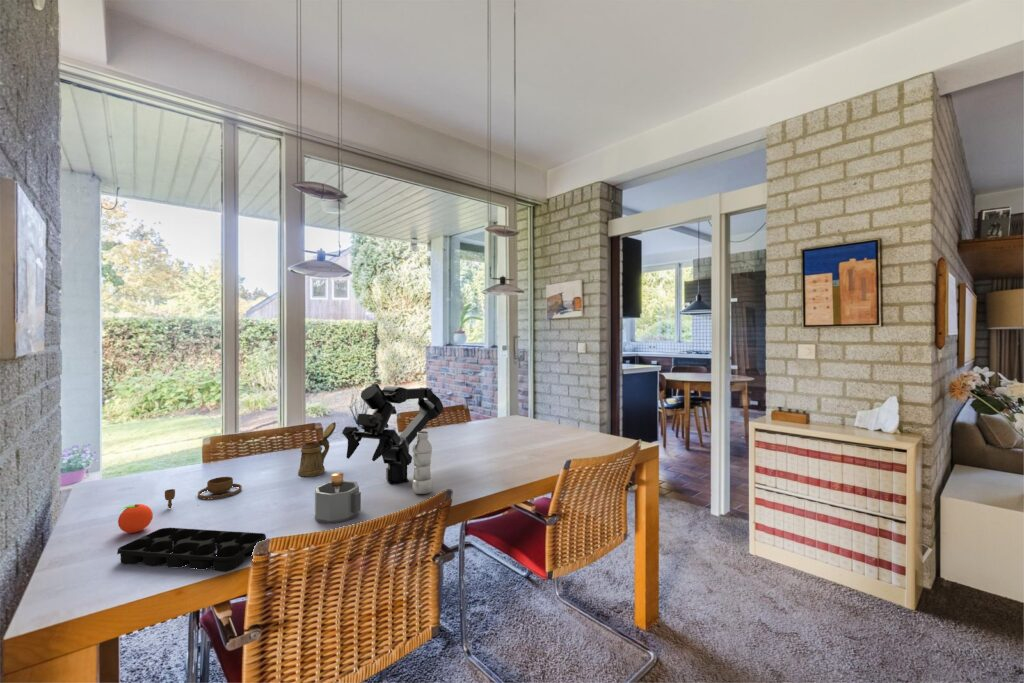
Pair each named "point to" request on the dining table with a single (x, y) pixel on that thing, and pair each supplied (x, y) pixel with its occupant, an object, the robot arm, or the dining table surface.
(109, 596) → the dining table surface
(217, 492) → the place setting
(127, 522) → the clementine
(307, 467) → the wooden mug
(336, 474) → the plunger
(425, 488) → the plastic bottle
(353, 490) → the press jug
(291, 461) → the dining table surface
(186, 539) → the egg carton
